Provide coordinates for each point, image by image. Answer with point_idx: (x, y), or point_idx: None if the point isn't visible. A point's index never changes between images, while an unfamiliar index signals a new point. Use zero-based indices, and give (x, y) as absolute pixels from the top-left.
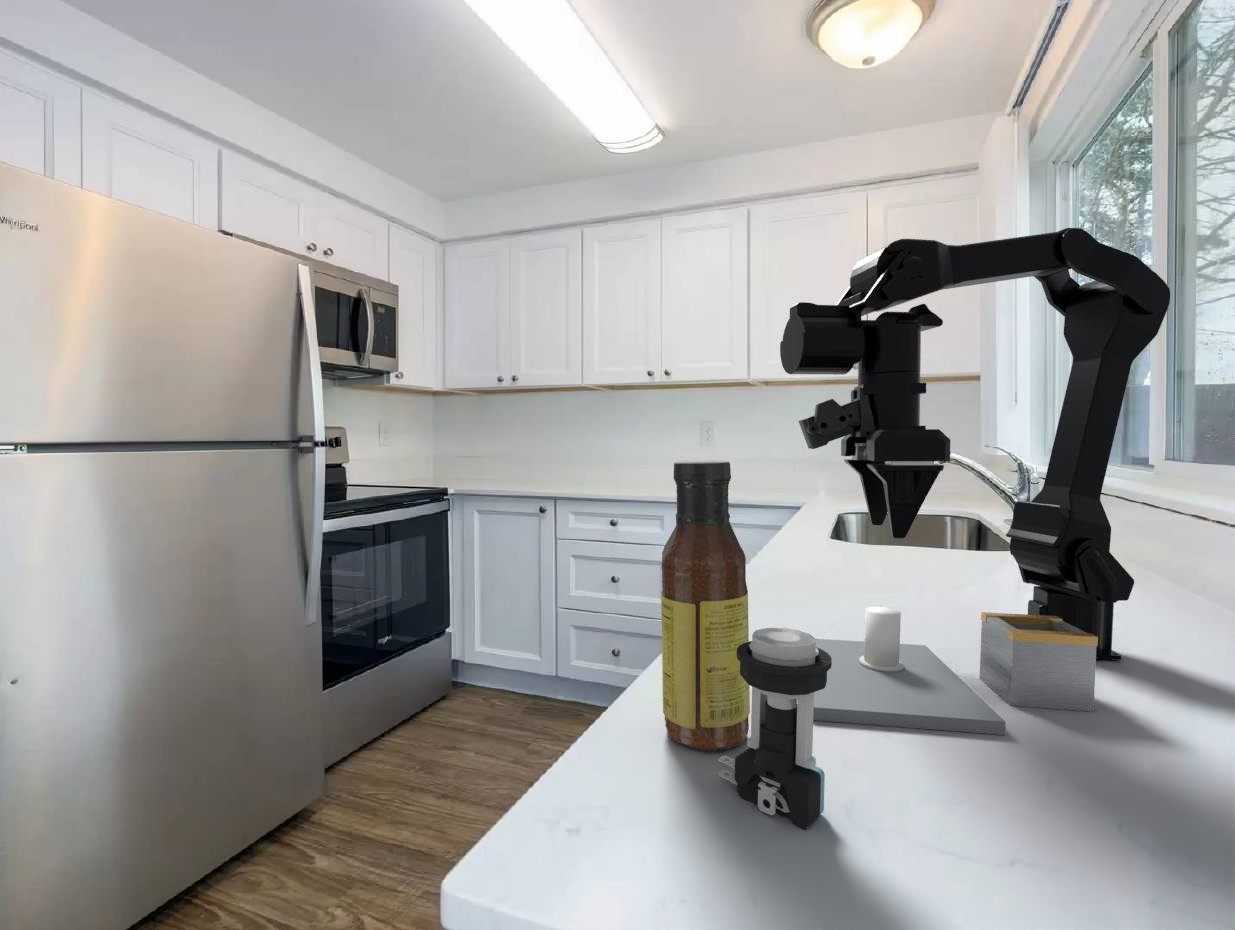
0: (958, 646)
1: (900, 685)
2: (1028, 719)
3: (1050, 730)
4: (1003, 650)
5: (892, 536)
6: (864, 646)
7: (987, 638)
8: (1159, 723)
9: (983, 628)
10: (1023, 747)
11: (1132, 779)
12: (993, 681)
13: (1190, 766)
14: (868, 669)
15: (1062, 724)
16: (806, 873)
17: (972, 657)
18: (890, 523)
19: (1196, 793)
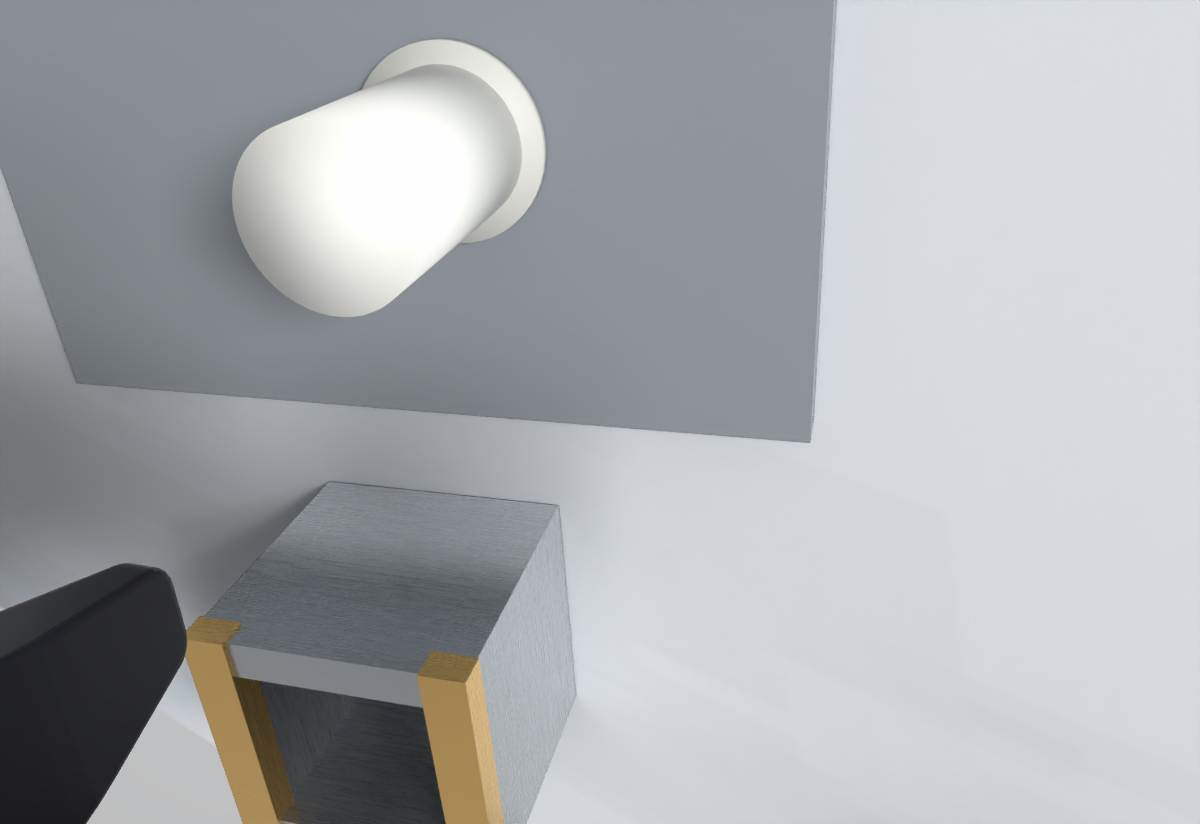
0: (977, 608)
1: (229, 156)
2: (246, 478)
3: (195, 495)
4: (306, 587)
5: (147, 567)
6: (413, 77)
7: (437, 606)
8: None
9: (467, 633)
10: (55, 377)
11: (13, 517)
12: (433, 510)
13: None
14: (366, 64)
15: (249, 544)
16: None
17: (817, 592)
18: (4, 628)
19: (16, 589)
